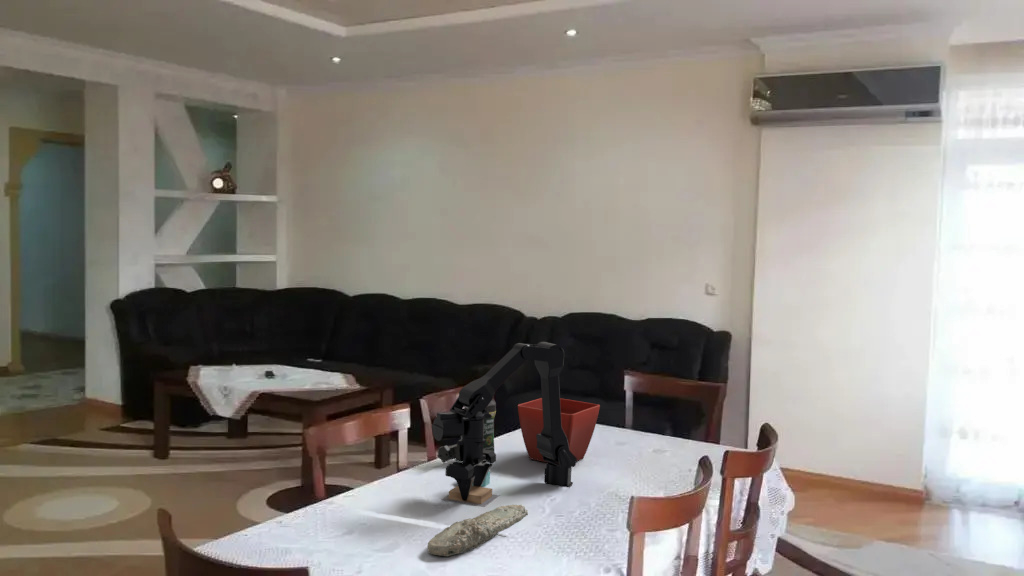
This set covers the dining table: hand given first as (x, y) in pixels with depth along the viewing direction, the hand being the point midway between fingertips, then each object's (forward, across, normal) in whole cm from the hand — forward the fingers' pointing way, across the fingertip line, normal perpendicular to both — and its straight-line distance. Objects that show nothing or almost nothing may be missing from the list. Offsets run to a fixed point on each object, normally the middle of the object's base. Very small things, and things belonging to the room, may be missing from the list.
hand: (470, 496), depth 218 cm
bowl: (+1, -12, -4) cm, 13 cm away
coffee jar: (+2, -37, -14) cm, 40 cm away
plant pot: (+2, -49, +7) cm, 50 cm away
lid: (0, 0, 0) cm, 0 cm away
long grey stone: (+2, +20, +12) cm, 23 cm away
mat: (+1, 0, 0) cm, 1 cm away
